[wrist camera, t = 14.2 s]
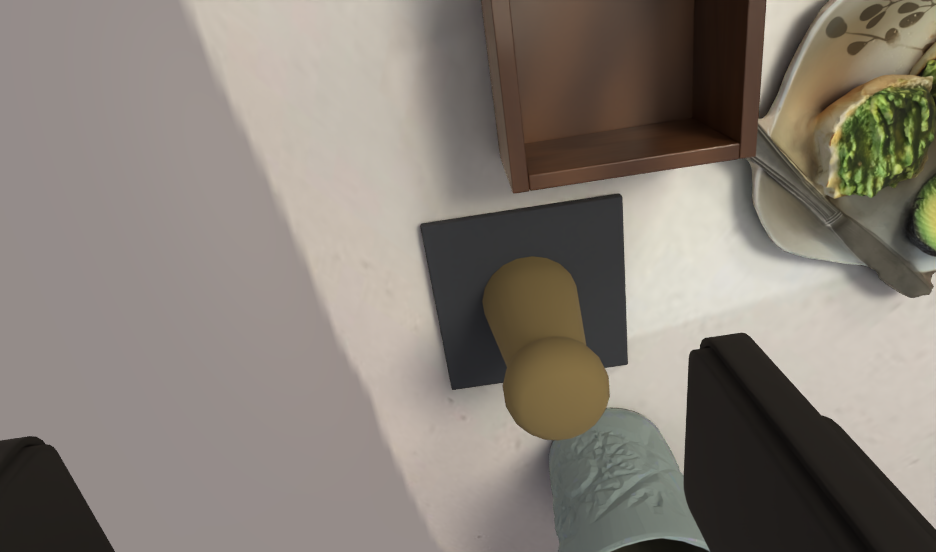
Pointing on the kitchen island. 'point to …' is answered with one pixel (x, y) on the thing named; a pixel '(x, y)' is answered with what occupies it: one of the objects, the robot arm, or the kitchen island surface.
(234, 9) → the kitchen island surface
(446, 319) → the mat
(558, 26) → the bin
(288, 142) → the kitchen island surface
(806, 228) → the avocado toast plate
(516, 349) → the cork
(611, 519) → the green cylindrical cup
